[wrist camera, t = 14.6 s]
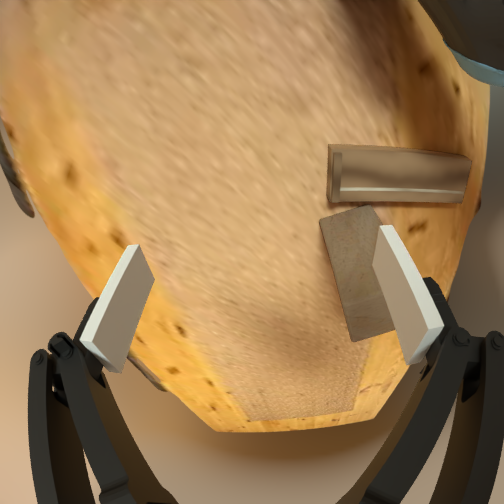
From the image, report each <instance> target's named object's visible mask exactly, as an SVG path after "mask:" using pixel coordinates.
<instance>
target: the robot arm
mask: <svg viewBox="0 0 504 504" xmlns="http://www.w3.org/2000/svg"><path fill="white" fill-rule="evenodd" d="M418 2H419V3H420V4H421V6H422V7H423V8H424V10H425V11H426V13H427V14H428V15H429V17H430V18H431V20H432V21H433V23H434V24H435V26H436V27H437V29H438V31H439V32H440V34H441V35H442V37H443V41H444V43H445V45H446V46H447V47H448V48H449V49H450V50H451V52H452V54H453V55H454V57H455V59H456V60H457V62H458V64H459V65H460V67H461V68H462V69H463V70H464V71H465V72H466V73H467V74H469V75H470V76H471V77H473V78H475V79H476V80H478V81H481V82H483V83H486V84H490V85H494V86H498V87H504V0H418ZM372 266H373V268H374V271H375V274H376V276H377V279H378V281H379V284H380V286H381V289H382V292H383V295H384V297H385V300H386V303H387V306H388V308H389V311H390V314H391V317H392V320H393V323H394V326H395V329H396V332H397V336H398V339H399V342H400V345H401V349H402V352H403V355H404V359H405V362H406V365H410V364H414V363H419V362H421V361H422V359H423V358H424V357H425V355H426V358H427V364H426V365H425V366H424V368H423V369H422V371H421V372H420V374H421V377H420V379H419V381H418V383H417V385H416V387H415V389H414V391H413V393H412V395H411V397H410V399H409V401H408V403H407V405H406V407H405V409H404V410H403V413H402V414H401V416H400V418H399V419H398V421H397V423H396V425H395V426H394V428H393V430H392V431H391V433H390V435H389V436H388V438H387V439H386V441H385V442H384V444H383V446H382V447H381V449H380V450H379V452H378V453H377V455H376V456H375V457H374V459H373V460H372V462H371V463H370V465H369V466H368V467H367V469H366V470H365V471H364V473H363V474H362V475H361V477H360V478H359V479H358V481H357V482H356V483H355V485H354V486H353V487H352V488H351V489H350V490H349V491H348V492H347V493H346V494H345V495H344V496H343V497H342V498H341V499H340V500H339V501H338V502H337V503H336V504H400V503H401V501H402V499H403V498H404V497H405V495H406V494H407V492H408V491H409V489H410V487H411V486H412V484H413V483H414V481H415V480H416V478H417V476H418V475H419V473H420V471H421V470H422V468H423V466H424V465H425V463H426V461H427V459H428V457H429V455H430V453H431V452H432V450H433V448H434V446H435V444H436V442H437V440H438V438H439V436H440V434H441V431H442V429H443V427H444V425H445V423H446V420H447V418H448V416H449V413H450V411H451V408H452V406H453V403H454V401H455V398H456V396H457V393H458V396H457V402H456V409H455V415H454V420H453V425H452V430H451V435H450V439H449V443H448V447H447V451H446V455H445V458H444V462H443V466H442V469H441V472H440V475H439V478H438V481H437V484H436V487H435V490H434V492H433V495H432V498H431V500H430V503H429V504H488V502H489V499H490V496H491V493H492V489H493V486H494V482H495V478H496V474H497V470H498V466H499V461H500V457H501V451H502V445H503V440H504V336H503V335H502V334H501V333H500V332H498V331H491V332H489V333H488V334H487V336H486V337H485V338H484V337H474V336H471V335H470V334H469V333H468V331H466V330H465V329H464V328H461V327H459V326H458V324H457V322H456V320H455V318H454V316H453V313H452V311H451V309H450V307H449V305H448V303H447V301H446V299H445V297H444V295H443V294H442V291H441V289H440V287H439V285H438V284H437V283H436V282H435V281H434V280H433V279H432V278H431V277H426V278H422V277H421V275H420V273H419V271H418V269H417V268H416V266H415V264H414V262H413V260H412V258H411V257H410V255H409V253H408V251H407V249H406V248H405V246H404V244H403V242H402V241H401V239H400V237H399V236H398V234H397V232H396V231H395V229H394V227H393V226H392V225H383V226H379V231H378V237H377V243H376V248H375V253H374V259H373V264H372ZM154 280H155V279H154V277H153V274H152V272H151V270H150V268H149V266H148V264H147V261H146V259H145V257H144V255H143V252H142V250H141V248H140V245H139V244H137V245H128V246H127V248H126V250H125V251H124V253H123V255H122V257H121V258H120V260H119V262H118V264H117V266H116V267H115V269H114V271H113V273H112V275H111V277H110V278H109V280H108V282H107V284H106V286H105V288H104V290H103V292H102V294H101V296H100V297H96V298H95V299H94V300H93V302H92V303H91V304H90V305H89V307H88V309H87V311H86V314H85V315H84V317H83V320H82V322H81V324H80V326H79V328H78V330H77V332H76V334H75V337H74V339H73V341H72V339H71V338H70V337H69V336H68V335H67V334H66V333H64V332H59V333H56V334H55V335H54V336H53V337H52V338H51V339H50V341H49V343H48V350H49V351H50V352H51V353H52V354H49V353H47V351H46V350H44V349H39V350H38V351H36V352H35V353H34V354H33V356H32V358H31V362H30V373H29V387H28V435H29V447H30V448H29V449H30V459H31V468H32V474H33V481H34V487H35V492H36V497H37V502H38V504H95V500H94V496H93V493H92V489H91V485H90V481H89V477H88V472H87V468H86V463H85V458H84V452H85V454H86V457H87V459H88V461H89V464H90V466H91V468H92V471H93V473H94V475H95V477H96V479H97V481H98V483H99V485H100V488H101V493H100V495H99V501H100V503H101V504H178V502H177V501H176V500H175V498H174V497H173V496H172V495H171V494H170V493H169V492H168V491H167V490H166V489H164V488H163V487H162V486H161V485H160V483H159V482H158V480H157V478H156V477H155V475H154V474H153V472H152V470H151V469H150V467H149V465H148V464H147V462H146V460H145V459H144V457H143V455H142V453H141V452H140V450H139V448H138V446H137V444H136V443H135V441H134V439H133V437H132V435H131V433H130V431H129V429H128V427H127V425H126V423H125V421H124V419H123V417H122V415H121V413H120V410H119V408H118V406H117V404H116V401H115V399H114V397H113V394H112V392H111V389H110V387H109V385H108V382H107V380H106V377H105V374H104V373H103V372H102V368H103V366H104V367H105V368H106V369H107V370H108V371H110V372H115V373H122V370H123V367H124V364H125V360H126V357H127V354H128V351H129V348H130V345H131V342H132V339H133V337H134V334H135V331H136V328H137V325H138V322H139V320H140V317H141V314H142V311H143V309H144V306H145V303H146V301H147V298H148V296H149V293H150V290H151V288H152V285H153V283H154ZM52 386H53V387H54V392H53V391H52ZM83 449H84V452H83Z"/></svg>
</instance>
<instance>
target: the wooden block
mask: <svg viewBox="0 0 504 504" xmlns="http://www.w3.org/2000/svg"><path fill="white" fill-rule="evenodd" d="M319 223H320V227H321V230H322V233H323V237H324V240H325V243H326V247H327V250H328V254H329V258H330V261H331V265H332V268H333V272H334V276H335V280H336V284H337V287H338V291H339V295H340V299H341V304H342V307H343V311H344V315H345V319H346V323H347V327H348V330H349V335H350V339H351V341H352V342H357V341H360V340H363V339H367V338H370V337H373V336H377V335H380V334H383V333H386V332H389V331H392V330H395V326H394V323H393V320H392V317H391V314H390V311H389V308H388V306H387V303H386V300H385V297H384V295H383V292H382V289H381V286H380V284H379V281H378V279H377V276H376V274H375V271H374V268H373V266H372V264H373V259H374V253H375V248H376V243H377V237H378V231H379V226H383V224H382V222H381V221H380V219H379V218H378V216H377V214H376V213H375V211H374V210H373V208H372V206H371V205H370V204H367V205H364V206H361V207H358V208H354V209H351V210H348V211H345V212H342V213H339V214H335V215H332V216H329V217H326V218H323V219H320V221H319Z"/></svg>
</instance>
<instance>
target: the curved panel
mask: <svg viewBox="0 0 504 504" xmlns="http://www.w3.org/2000/svg"><path fill="white" fill-rule="evenodd" d="M471 163H472V161H471V160H470V159H469V158H467V157H466V156H463V155H457V154H450V153H443V152H436V151H428V150H419V149H409V148H398V147H385V146H368V145H339V144H328V169H327V193H326V195H327V198H328V200H329V202H332V203H339V202H354V201H397V202H441V203H462V201H463V197H464V193H465V189H466V185H467V181H468V177H469V173H470V168H471Z"/></svg>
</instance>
